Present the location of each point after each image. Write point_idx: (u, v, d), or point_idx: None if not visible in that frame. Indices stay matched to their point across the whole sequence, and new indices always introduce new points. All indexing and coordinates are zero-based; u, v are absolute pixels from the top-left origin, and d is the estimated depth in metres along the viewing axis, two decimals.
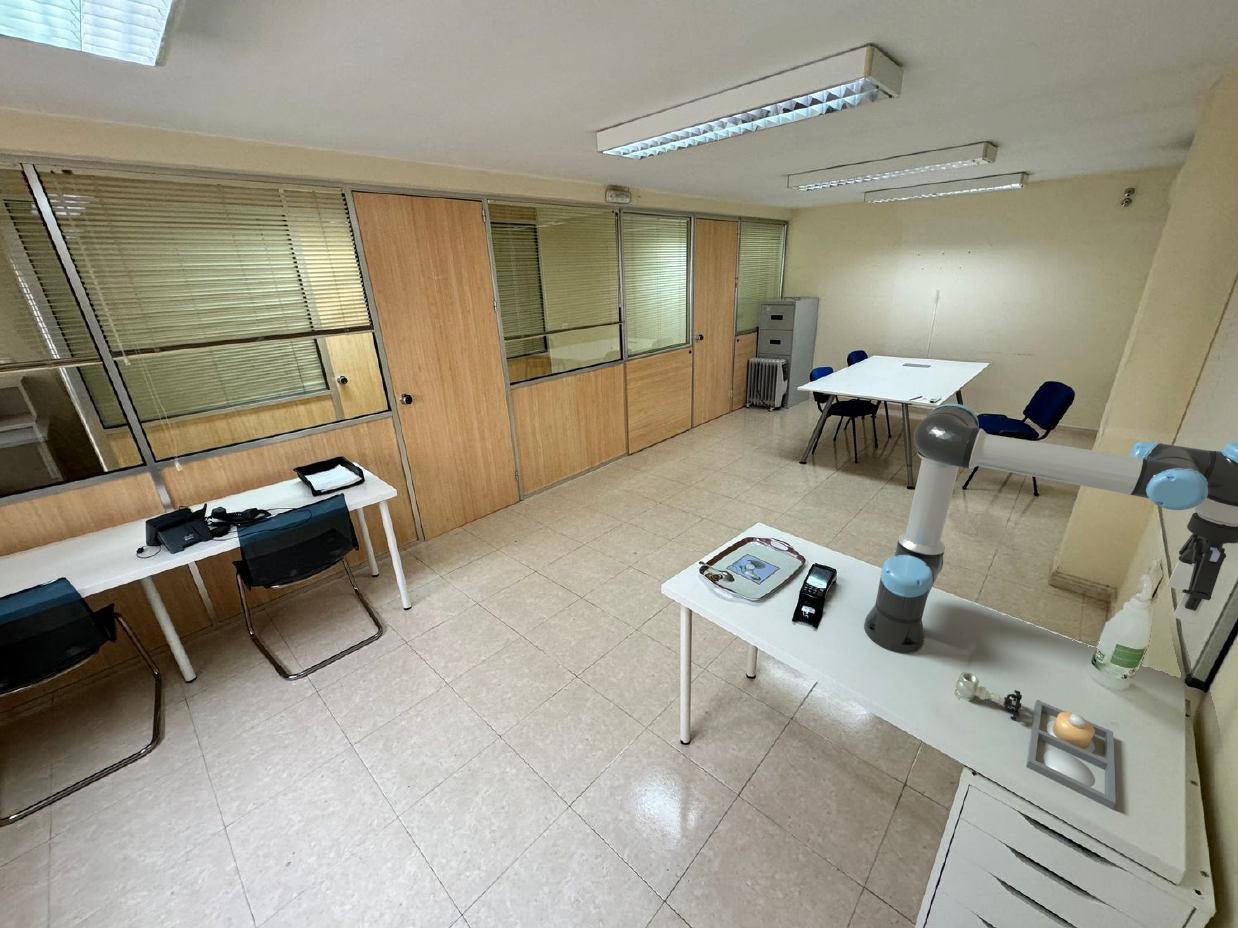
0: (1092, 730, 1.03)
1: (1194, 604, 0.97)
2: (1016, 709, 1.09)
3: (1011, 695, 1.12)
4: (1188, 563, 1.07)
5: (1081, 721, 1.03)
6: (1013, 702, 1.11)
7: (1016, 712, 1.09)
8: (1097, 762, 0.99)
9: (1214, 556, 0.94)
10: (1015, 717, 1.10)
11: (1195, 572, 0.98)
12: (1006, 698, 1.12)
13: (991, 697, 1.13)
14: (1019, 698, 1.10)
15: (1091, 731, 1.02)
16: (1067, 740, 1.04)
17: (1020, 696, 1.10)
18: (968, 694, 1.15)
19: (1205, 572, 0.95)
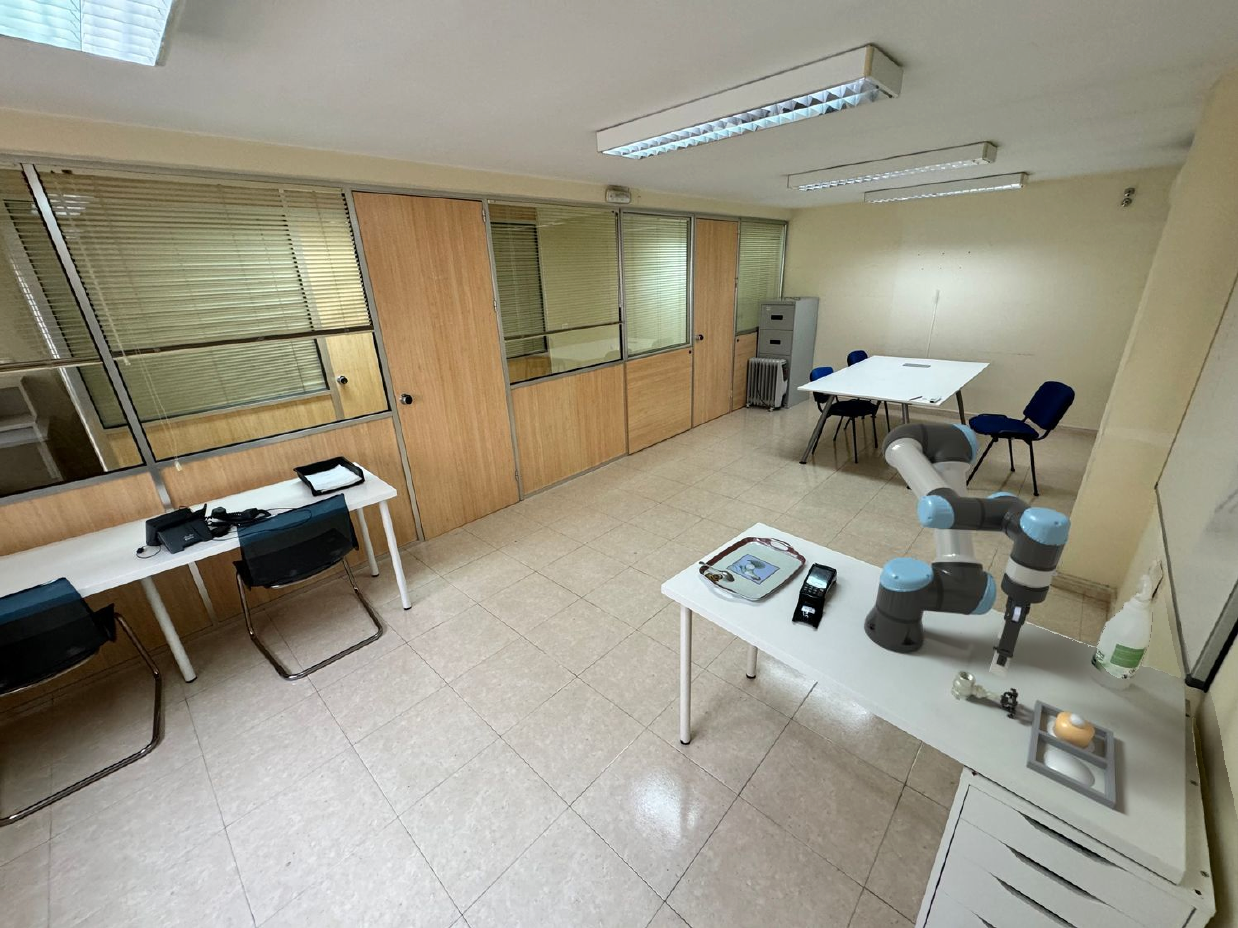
0: (1092, 730, 1.03)
1: (1002, 660, 1.02)
2: (1013, 707, 1.10)
3: (1007, 693, 1.13)
4: None
5: (1081, 721, 1.03)
6: (1009, 700, 1.12)
7: (1013, 710, 1.09)
8: (1097, 762, 0.99)
9: (1016, 616, 0.99)
10: (1012, 715, 1.10)
11: (1004, 629, 1.02)
12: (1002, 696, 1.12)
13: (988, 695, 1.14)
14: (1015, 696, 1.10)
15: (1091, 731, 1.02)
16: (1067, 740, 1.04)
17: (1016, 694, 1.10)
18: (965, 693, 1.15)
19: (1008, 631, 0.99)
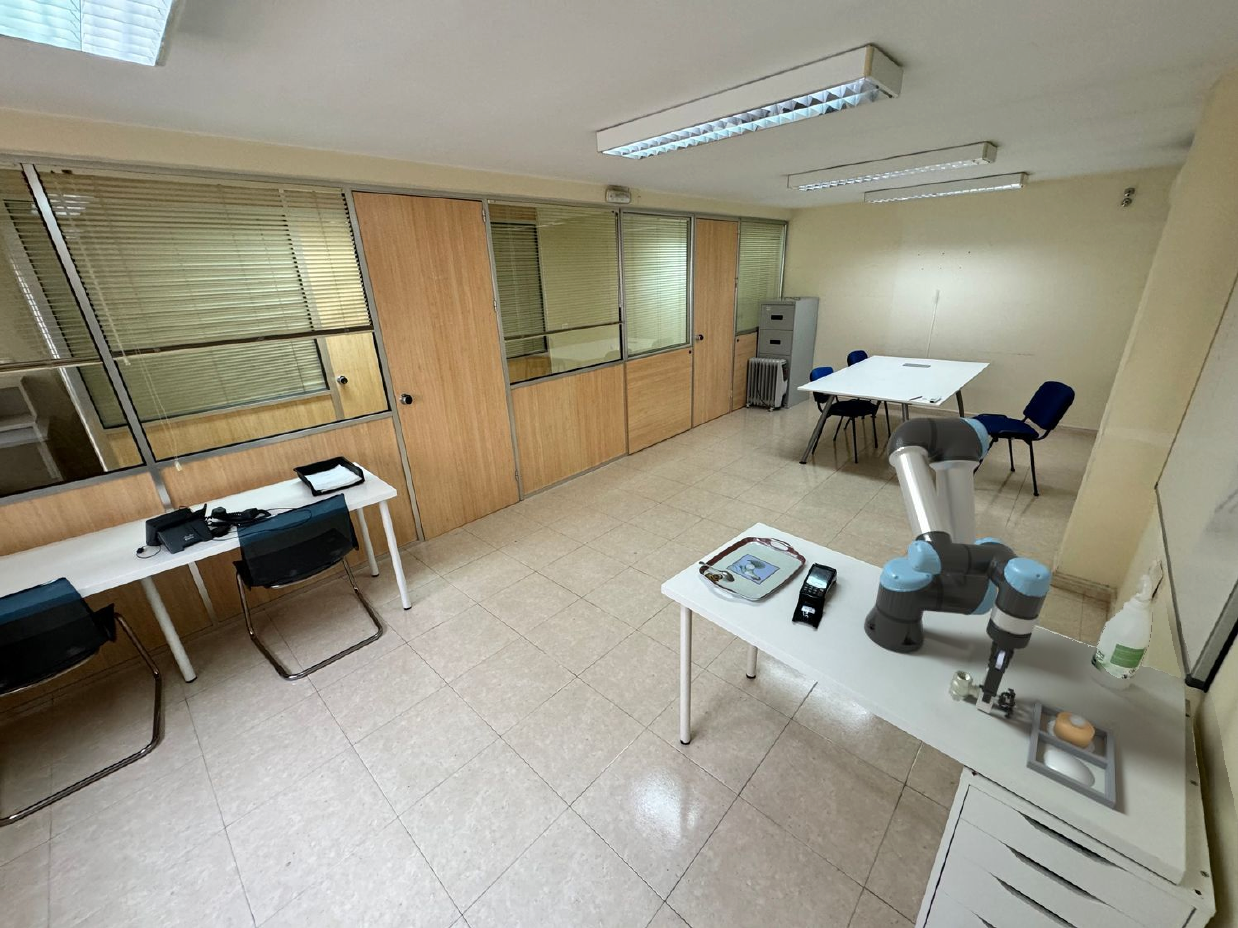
0: (1092, 730, 1.03)
1: (987, 698, 1.10)
2: (1010, 707, 1.10)
3: (1005, 693, 1.13)
4: None
5: (1081, 721, 1.03)
6: (1007, 700, 1.11)
7: (1010, 710, 1.09)
8: (1097, 762, 0.99)
9: (998, 665, 1.04)
10: (1009, 715, 1.10)
11: (988, 672, 1.09)
12: (1000, 696, 1.12)
13: None
14: (1013, 696, 1.10)
15: (1091, 731, 1.02)
16: (1067, 740, 1.04)
17: (1014, 694, 1.10)
18: (962, 693, 1.15)
19: (992, 676, 1.06)
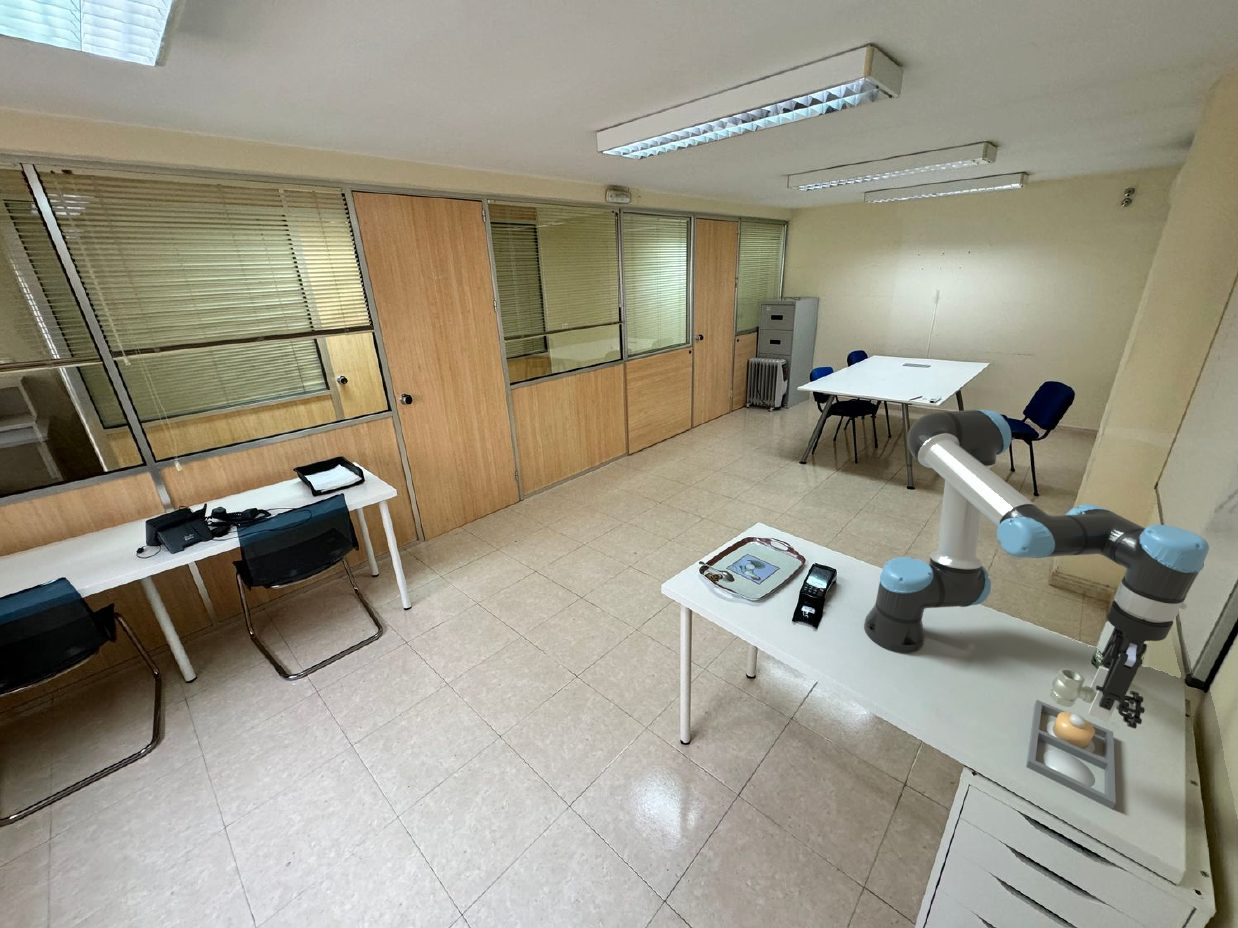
0: (1092, 730, 1.03)
1: (1108, 703, 0.88)
2: (1137, 714, 0.88)
3: (1126, 697, 0.91)
4: None
5: (1081, 721, 1.03)
6: (1131, 706, 0.89)
7: (1137, 718, 0.87)
8: (1097, 762, 0.99)
9: (1129, 662, 0.82)
10: (1135, 724, 0.88)
11: (1111, 670, 0.87)
12: None
13: None
14: (1140, 701, 0.88)
15: (1091, 731, 1.02)
16: (1067, 740, 1.04)
17: (1141, 698, 0.88)
18: (1071, 696, 0.93)
19: (1119, 675, 0.84)
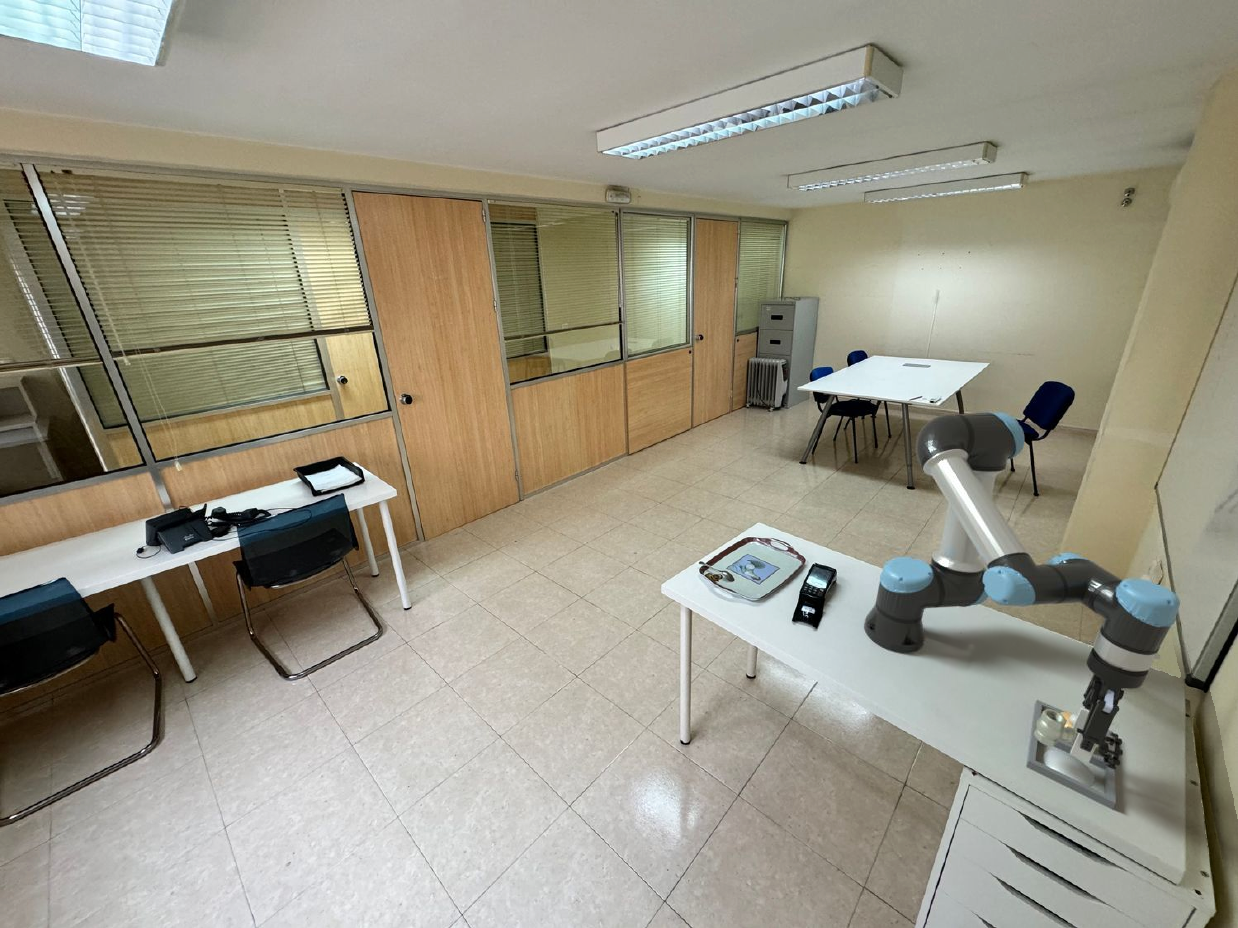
0: None
1: (1088, 746, 0.92)
2: (1115, 756, 0.92)
3: (1106, 738, 0.95)
4: None
5: None
6: (1110, 747, 0.93)
7: (1116, 760, 0.91)
8: (1097, 762, 0.99)
9: (1107, 709, 0.86)
10: (1114, 765, 0.92)
11: (1090, 714, 0.91)
12: None
13: None
14: (1119, 743, 0.92)
15: None
16: None
17: (1120, 740, 0.92)
18: (1053, 736, 0.97)
19: (1097, 720, 0.88)
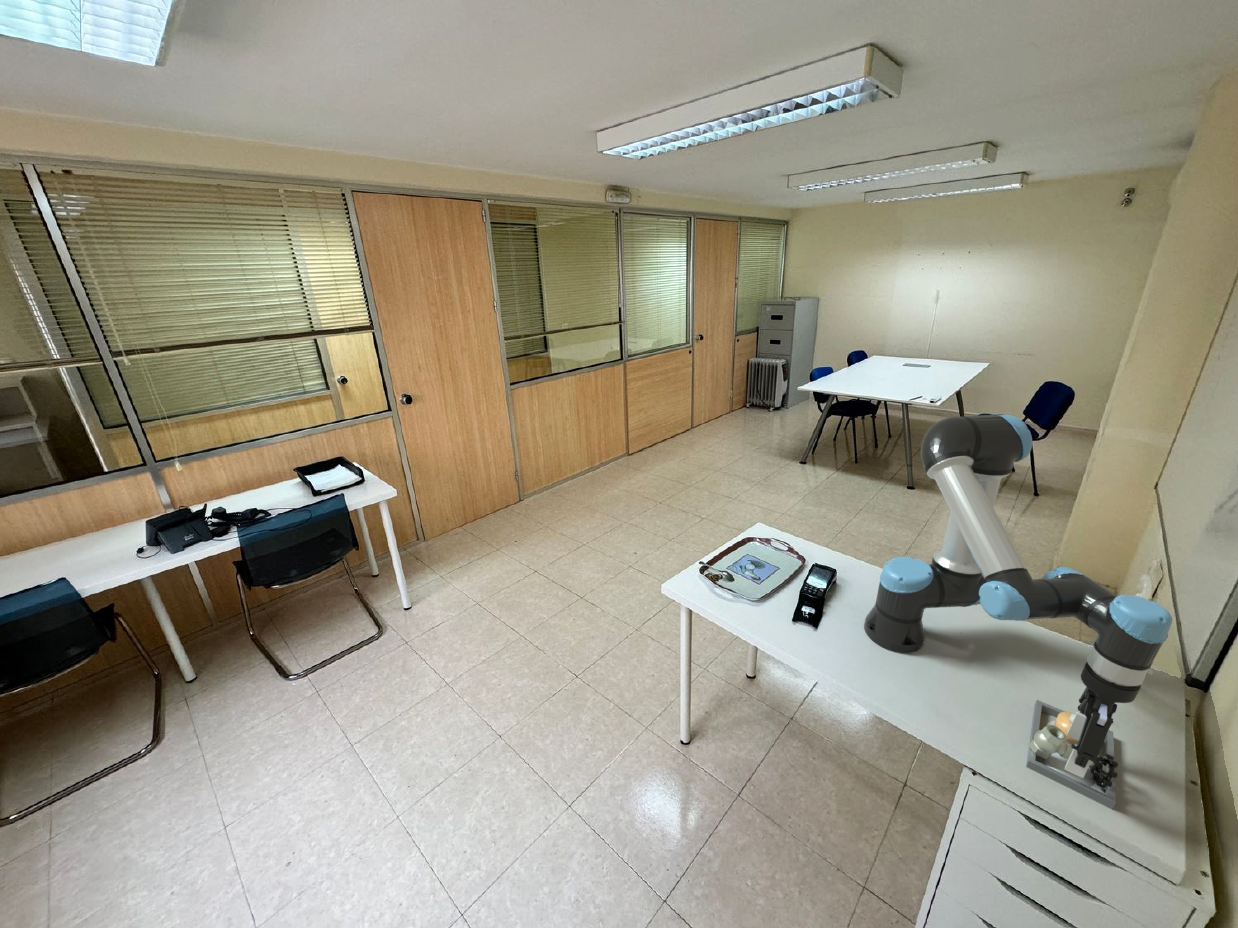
0: None
1: (1082, 761, 0.92)
2: (1108, 777, 0.94)
3: (1101, 759, 0.96)
4: None
5: None
6: (1104, 768, 0.95)
7: (1108, 781, 0.93)
8: None
9: (1101, 721, 0.87)
10: (1103, 785, 0.95)
11: (1085, 728, 0.91)
12: (1096, 762, 0.96)
13: None
14: (1114, 766, 0.94)
15: None
16: (1067, 740, 1.04)
17: (1116, 764, 0.94)
18: (1050, 750, 0.98)
19: (1092, 734, 0.89)
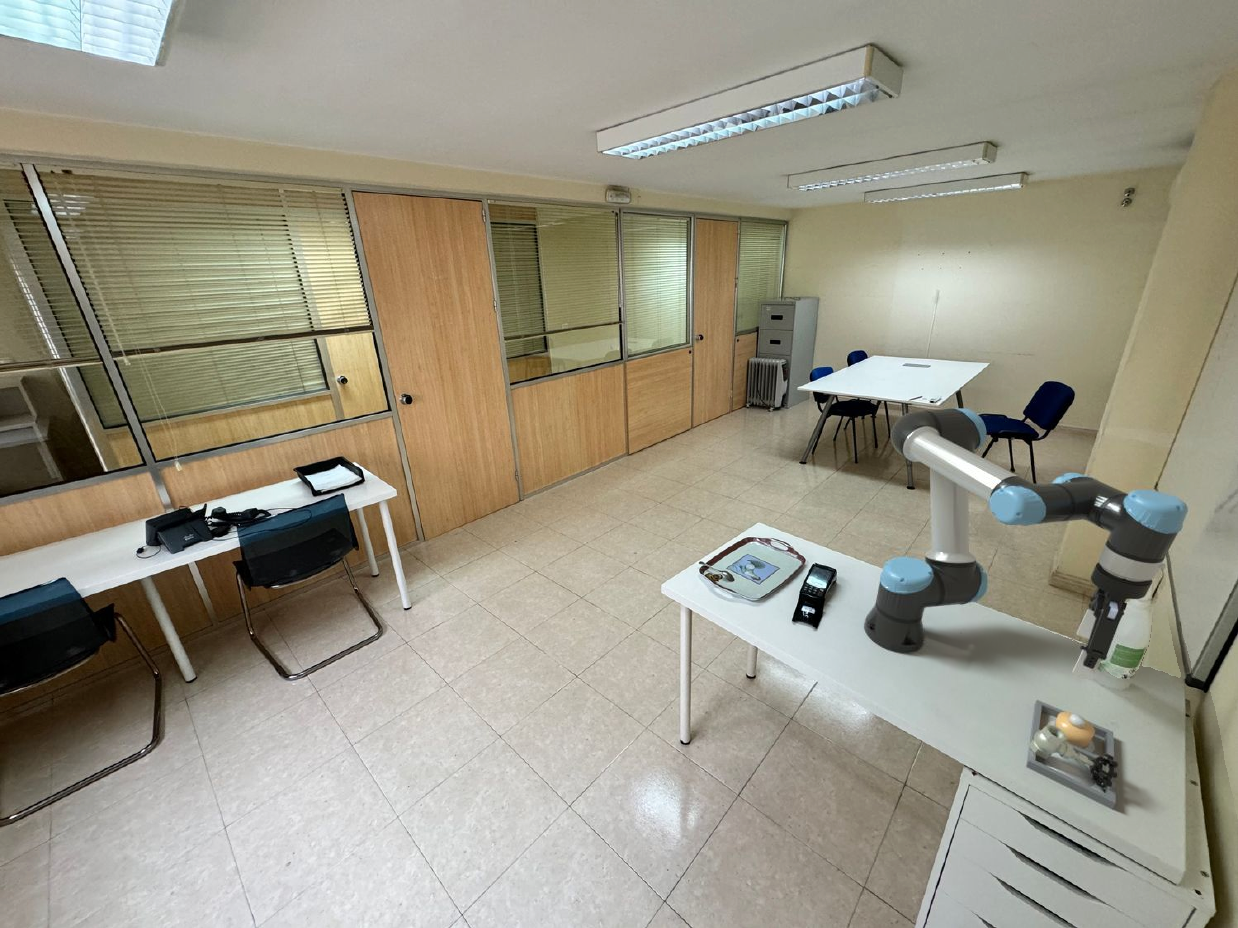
0: (1092, 730, 1.03)
1: (1091, 662, 0.90)
2: (1108, 777, 0.94)
3: (1101, 759, 0.97)
4: None
5: (1081, 721, 1.03)
6: (1104, 768, 0.95)
7: (1108, 781, 0.93)
8: None
9: (1112, 613, 0.87)
10: (1103, 785, 0.95)
11: (1094, 627, 0.90)
12: (1096, 762, 0.96)
13: (1077, 758, 0.97)
14: (1114, 766, 0.94)
15: (1091, 731, 1.02)
16: (1067, 740, 1.04)
17: (1116, 764, 0.94)
18: (1050, 750, 0.98)
19: (1102, 630, 0.87)
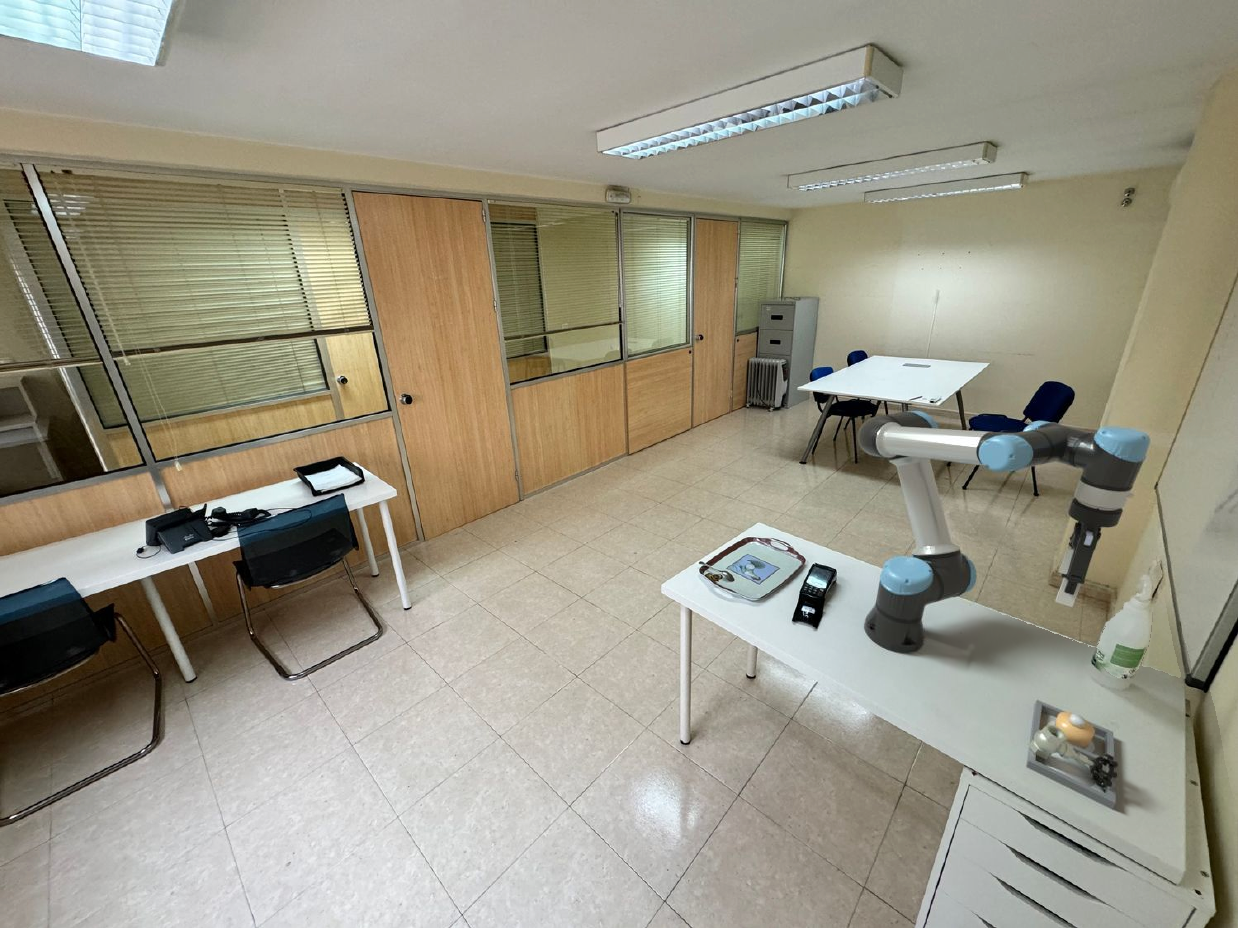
0: (1092, 730, 1.03)
1: (1071, 588, 0.98)
2: (1108, 777, 0.94)
3: (1101, 759, 0.97)
4: None
5: (1081, 721, 1.03)
6: (1104, 768, 0.95)
7: (1108, 781, 0.93)
8: None
9: (1088, 540, 0.95)
10: (1103, 785, 0.95)
11: (1073, 556, 0.98)
12: (1096, 762, 0.96)
13: (1077, 758, 0.97)
14: (1114, 766, 0.94)
15: (1091, 731, 1.02)
16: (1067, 740, 1.04)
17: (1116, 764, 0.94)
18: (1050, 750, 0.98)
19: (1080, 556, 0.96)
